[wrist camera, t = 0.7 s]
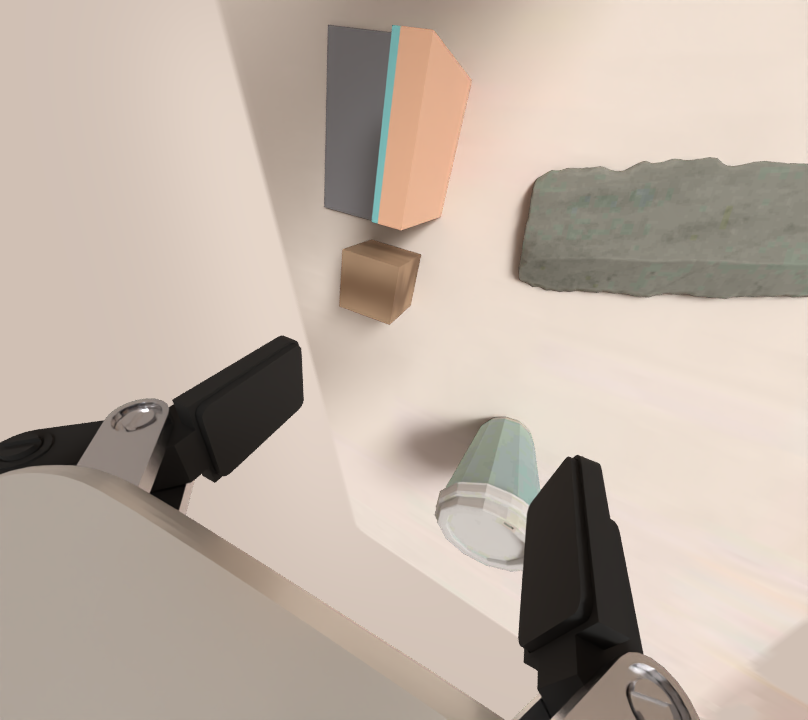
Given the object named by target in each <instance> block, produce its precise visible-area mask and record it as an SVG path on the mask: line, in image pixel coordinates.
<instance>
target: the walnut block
mask: <svg viewBox="0 0 808 720" xmlns="http://www.w3.org/2000/svg"><path fill="white" fill-rule="evenodd" d="M420 258H421V254H418V253H414V252H411V251H408V250H405V249H401V248H398V247H395V246H391V245H388V244H385V243H381V242H378V241H375V240H369V241H366V242H363V243H360V244H357V245H354V246H351V247H348V248H345V249H343V250H342V267H341V285H340V302H339V306H340V307H343V308H345V309H348V310H351V311H354V312H356V313H359V314H362V315H364V316H367V317H370V318H373V319H375V320H378V321H381V322H384V323H386V324H389V325H390V324H391V323H392V322H393V321H394V320H395V319H396V318H398V317H399V316H400V315H401V314H402V313H403V312H404V311H405V310H406V309H407V308H408V307H410V306H411V301H412V296H413V292H414V287H415V282H416V277H417V272H418V267H419V263H420Z"/></svg>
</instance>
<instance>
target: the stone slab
mask: <svg viewBox="0 0 808 720" xmlns="http://www.w3.org/2000/svg"><path fill="white" fill-rule="evenodd" d="M519 279H520V280H521V281H522V282H525V283H528V284H530V285H531V286H532V287H541V288H543V289H545V290H554V291H559V292H562V291H568V292H571V291H578V290H579V291H586V292H596V293H598V292H601V291H606V292H611V293H622V294H629V295H633V296H642V297H651V296H655V295H662V294H689V295H693V296H698V297H700V296H703V297H711V298H725V299H727V298H730V297H743V296H751V297H754V296H767V297H777V296H790V297H799V296H807V297H808V164H797V163H790V164H787V163H779V162H768V161H760V162H752V163H748V164H744V165H739V166H727V165H725V164H723V163H722V162H721V161H720V160H719V159H718V158H711V157H708V158H703V159H696V160H681V159H671V160H668V161H665V162H660V163H650V162H647V161H643V162H640V163H638V164H636V165H634V166H632V167H630V168H629V169H627V170H625V171H613V170H609V169H607V168H605V167H601V166H599V167H593V168H566V169H564V170H559V171H555V170H551V171H549V172H547V173H546V174H544V175H542V176H541V177H539V178H538V179H537V180H536V182H535V184H534V186H533V191H532V196H531V202H530V209H529V216H528V220H527V223H526V228H525V234H524V240H523V247H522V254H521V259H520V266H519Z"/></svg>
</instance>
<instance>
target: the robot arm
mask: <svg viewBox="0 0 808 720" xmlns="http://www.w3.org/2000/svg"><path fill="white" fill-rule="evenodd" d="M172 401H173V403H174V405H172V406H170V407H168V405H167V403H165V402H164V401H162V400H158V399H140V400H135V401H132V402H129V403H126V404H124V405H122V406H120V407H118V408H117V409H115V410H114V411H112V412H111V413H110V414H109V415H108V416H107V417H106V419H105V420H104V421H97V422H90V423H82V424H75V425H67V426H60V427H53V428H46V429H38V430H33V431H28V432H24V433H22V434H19V435H16V436H13V437H11V438H9V439H7V440H4V441H2V442H1V443H0V720H504V719H503V718H501V717H500V716H498V715H497V714H495V713H494V712H492V711H491V710H489V709H488V708H486V707H485V706H483V705H482V704H480V703H479V702H477V701H476V700H474V699H473V698H471V697H470V696H468V695H467V694H465V693H464V692H462V691H461V690H459V689H458V688H456V687H455V686H453V685H452V684H450V683H449V682H447V681H446V680H444V679H443V678H441V677H440V676H438V675H437V674H435V673H434V672H432V671H431V670H429V669H428V668H426V667H424V666H423V665H421V664H420V663H418V662H417V661H415V660H413V659H412V658H410V657H409V656H407V655H406V654H404V653H402V652H401V651H399V650H398V649H396V648H394V647H393V646H392V645H390V644H388V643H387V642H385V641H383V640H382V639H380V638H379V637H378V636H376V635H374V634H373V633H371V632H369V631H368V630H367V629H365V628H363V627H362V626H360V625H359V624H357V623H356V622H354V621H352V620H351V619H349V618H348V617H346V616H345V615H343V614H342V613H340V612H338V611H337V610H335V609H334V608H332V607H331V606H329V605H327V604H326V603H324V602H323V601H321V600H319V599H318V598H316V597H315V596H313V595H311V594H310V593H308V592H307V591H305V590H304V589H302V588H301V587H299V586H297V585H296V584H294V583H293V582H291V581H289V580H288V579H286V578H285V577H283V576H281V575H280V574H278V573H277V572H275V571H274V570H272V569H270V568H269V567H267V566H266V565H264V564H262V563H261V562H259V561H258V560H256V559H255V558H253V557H252V556H250V555H248V554H247V553H245V552H244V551H242V550H240V549H239V548H237V547H236V546H234V545H232V544H231V543H229V542H228V541H226V540H224V539H223V538H221V537H219V536H218V535H216V534H215V533H213V532H212V531H210V530H208V529H207V528H205V527H204V526H202V525H200V524H199V523H197V522H196V521H194V520H192V519H191V518H189V517H188V516H186V512H187V508H188V504H189V500H190V496H191V493H192V488H193V485H194V481H195V479H196V478H197V477H198V476H199V475H201V474H202V475H203V476H204V477H206V478H208V479H209V480H211V481H213V482H214V483H215V482H217V481H218V480H219V479H220V478H221V477H222V476H227V475H228V474H230V473H231V472H232V471H233V470H234V469H235V468H236V467H238V466H239V465H240V464H241V463H242V462H243V461H244V460H245V459H246V458H247V457H248V456H249V455H250V454H251V453H253V452H254V451H255V450H256V449H257V448H258V447H259V446H260V445H261V444H262V443H263V442H264V441H265V440H266V439H267V438H268V437H270V436H271V435H272V434H273V433H274V432H275V431H276V430H277V429H278V428H279V427H280V426H281V425H283V424H284V423H285V422H286V421H287V420H288V419H289V418H290V417H291V416H292V415H293V414H294V413H295V412H297V411H298V410H299V409H300V407H301V406H302V404H303V401H304V397H303V376H302V354H301V348H300V347H299V344H298V342H297V341H295V340H293V339H290V338H288V337H285V336H279V337H277V338H275V339H274V340H272V341H270V342H269V343H267V344H265V345H264V346H262V347H260V348H259V349H257V350H255V351H254V352H252V353H250V354H249V355H247V356H245V357H244V358H242V359H240V360H239V361H237V362H235V363H233V364H232V365H230V366H228V367H227V368H225V369H223V370H222V371H220V372H218V373H217V374H215V375H214V376H212V377H210V378H208V379H207V380H205V381H203V382H202V383H200V384H198V385H196V386H195V387H193V388H192V389H190V390H188V391H186V392H185V393H183V394H181V395H180V396H178V397H176V398H175V399H173V400H172ZM518 639H519V644H520V646H521V647H523V648H524V663H525V664H527V665H529V666H531V667H533V668H534V669H536V670H537V671H538V687H537V689H538V691H539V694H538V695H537V696H536V697H535V698H534V699H533V700H531V701H530V703H528V704H527V705H526V706H525V707H524V708H523V709H522V710H521V711H520V712H519V713H518V714H517V715H516V716H515V717H514V718H513V719H512V720H700V719H699V717H698V715H697V713H696V711H695V709H694V707H693V705H692V703H691V701H690V699H689V698H688V696H687V695H686V693H685V692H684V690H683V689H682V688H681V686H680V685H679V683H678V682H677V681H676V680H675V679H674V678H673V677H672V676H671V674H670V673H669V672H668V671H667V670H666V669H665V668H664V667H663V666H661V665H660V664H659V663H657V662H656V661H655V660H653V659H652V658H650V657H648V656H646V655H643V650H642V645H641V639H640V634H639V629H638V624H637V619H636V614H635V609H634V603H633V598H632V593H631V588H630V583H629V578H628V573H627V567H626V562H625V557H624V552H623V547H622V542H621V537H620V532H619V529H618V526H617V524H616V523H615V521H613V520H611V519H610V515H609V509H608V503H607V497H606V492H605V486H604V480H603V474H602V469H601V466H600V464H599V463H597V462H594V461H592V460H589V459H587V458H584V457H582V456H579V455H576V456H575V457H574V458H571V457H567V458H566V459H565V460H564V461H563V463H562V464H561V465H560V466H559V468H558V469H557V470H556V471H555V473H554V474H553V475H552V477H551V478H550V479H549V480H548V482H547V483H546V484H545V486H544V487H543V488H542V489H541V491H540V492H539V493H538V494H537V496H536V497H535V498H534V500H533V501H532V502H531V504H530V505H529V508H528V511H527V518H526V533H525V547H524V562H523V576H522V591H521V605H520V620H519V636H518Z"/></svg>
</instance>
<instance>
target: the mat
mask: <svg viewBox="0 0 808 720" xmlns="http://www.w3.org/2000/svg"><path fill="white" fill-rule="evenodd" d="M390 43H391V32H383V31H375V30H367V29H358V28H350V27H342V26H334V25H328V49H327V99H326V148H325V198H324V207H326V208H329V209H333V210H336V211H340V212H343V213H347V214H350V215H354V216H357V217H361V218H364V219H368V220H371V221H372V214H373V204H374V195H375V185H376V176H377V166H378V157H379V147H380V138H381V128H382V119H383V109H384V100H385V90H386V81H387V71H388V62H389V52H390Z"/></svg>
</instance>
